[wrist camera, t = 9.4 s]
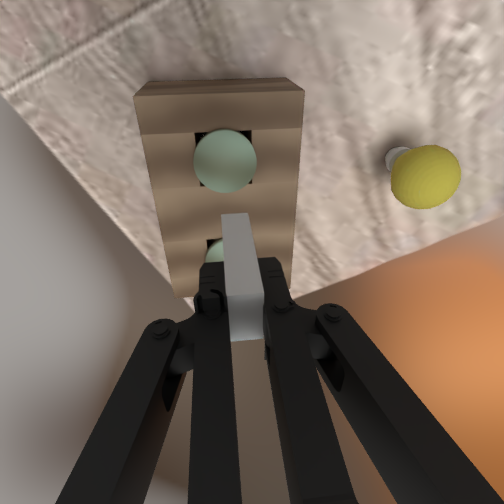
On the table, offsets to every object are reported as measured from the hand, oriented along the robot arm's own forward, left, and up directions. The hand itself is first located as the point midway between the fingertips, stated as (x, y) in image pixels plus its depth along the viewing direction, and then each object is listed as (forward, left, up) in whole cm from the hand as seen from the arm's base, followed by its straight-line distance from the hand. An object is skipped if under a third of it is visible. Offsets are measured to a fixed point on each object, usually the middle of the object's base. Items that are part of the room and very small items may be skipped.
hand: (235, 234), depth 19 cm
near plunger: (0, 0, -21) cm, 21 cm away
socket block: (+6, 0, -21) cm, 22 cm away
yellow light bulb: (+4, +21, -22) cm, 30 cm away
